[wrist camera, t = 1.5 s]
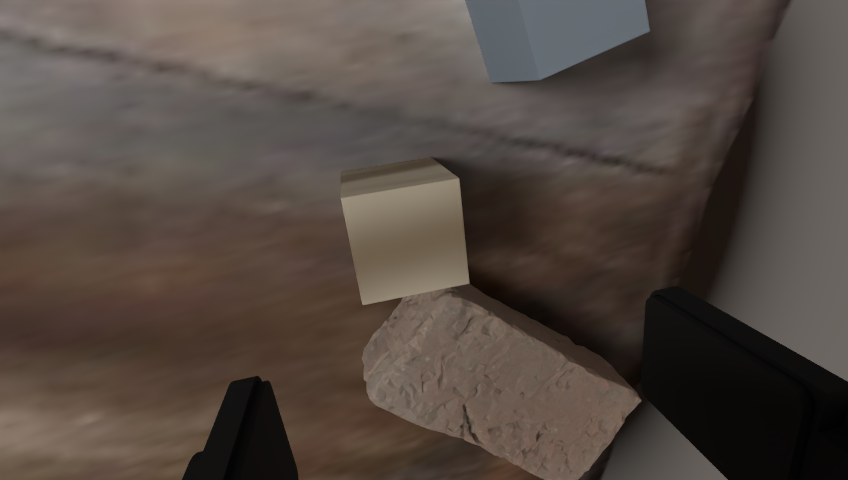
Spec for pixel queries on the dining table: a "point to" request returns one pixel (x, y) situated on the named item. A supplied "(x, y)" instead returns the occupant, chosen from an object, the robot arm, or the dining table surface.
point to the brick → (496, 381)
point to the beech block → (404, 229)
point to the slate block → (550, 33)
